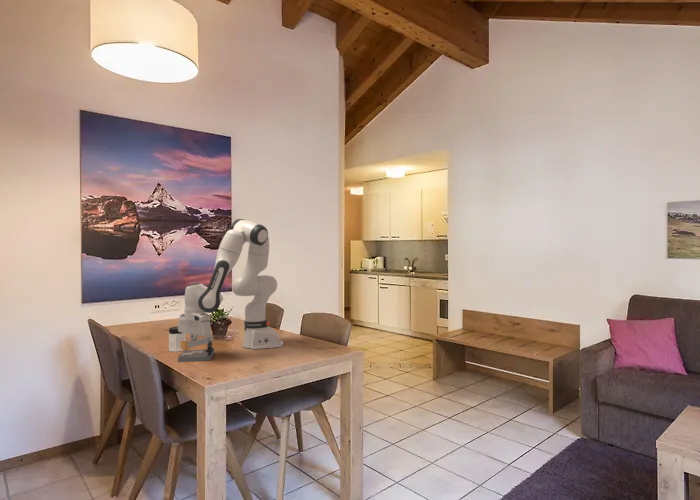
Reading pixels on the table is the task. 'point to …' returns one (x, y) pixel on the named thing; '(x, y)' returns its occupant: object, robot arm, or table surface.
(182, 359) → the chassis plate
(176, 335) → the jar
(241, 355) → the table surface
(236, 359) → the table surface
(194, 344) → the bar
